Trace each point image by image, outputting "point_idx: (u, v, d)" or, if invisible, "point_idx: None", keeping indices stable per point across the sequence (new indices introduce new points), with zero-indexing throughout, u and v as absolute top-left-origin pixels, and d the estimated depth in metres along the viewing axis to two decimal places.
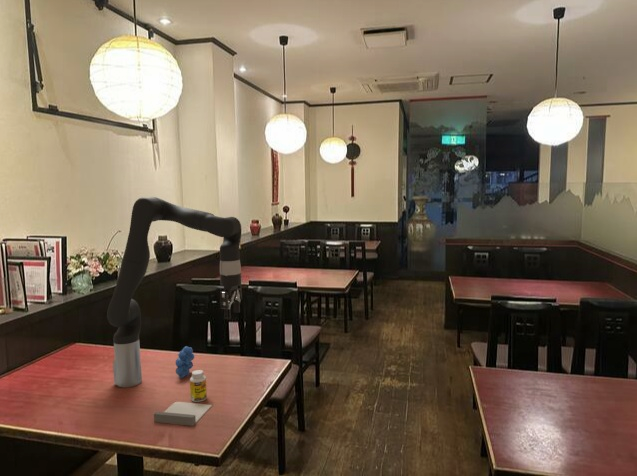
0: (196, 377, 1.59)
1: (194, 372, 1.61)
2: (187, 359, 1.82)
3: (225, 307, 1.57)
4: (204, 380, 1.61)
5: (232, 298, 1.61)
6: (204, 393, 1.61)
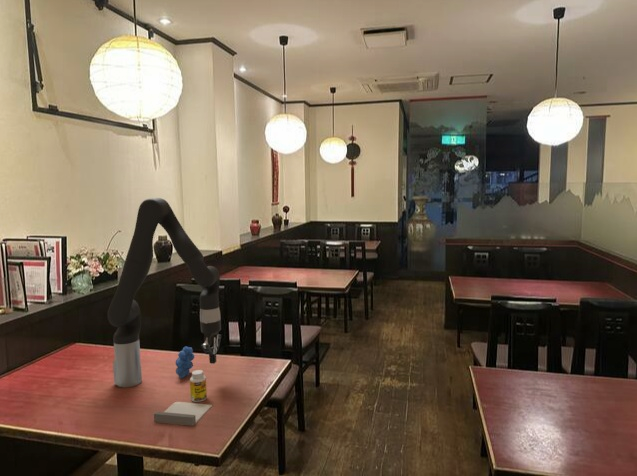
0: (196, 377, 1.59)
1: (194, 372, 1.61)
2: (187, 359, 1.82)
3: (210, 353, 1.69)
4: (204, 380, 1.61)
5: (214, 345, 1.70)
6: (204, 393, 1.61)
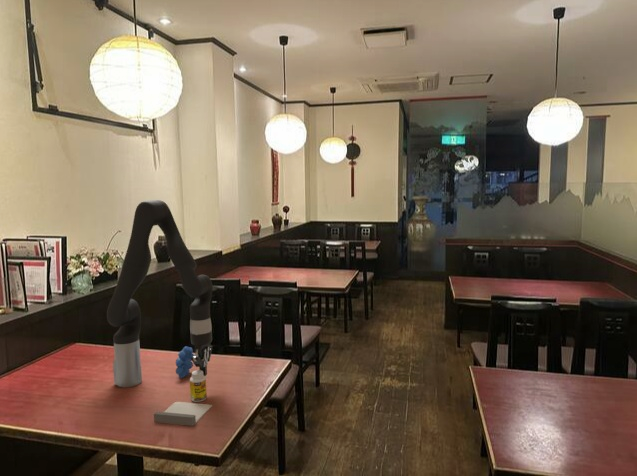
0: (196, 377, 1.59)
1: (194, 372, 1.61)
2: (187, 359, 1.82)
3: (200, 366, 1.62)
4: (204, 380, 1.61)
5: (204, 357, 1.63)
6: (204, 393, 1.61)
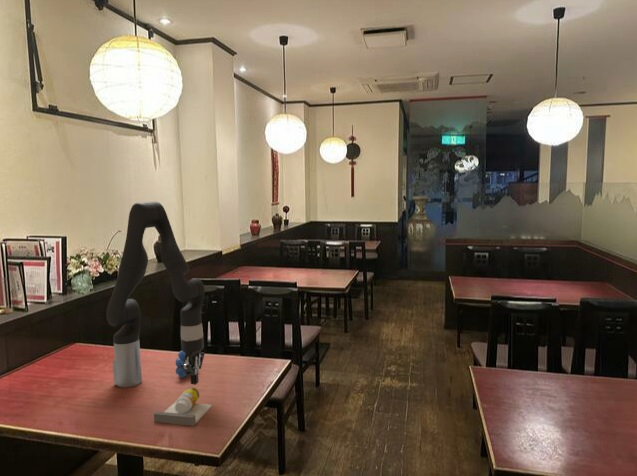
0: None
1: (178, 410, 1.50)
2: None
3: (191, 373, 1.55)
4: (191, 403, 1.52)
5: (196, 364, 1.56)
6: (197, 397, 1.56)
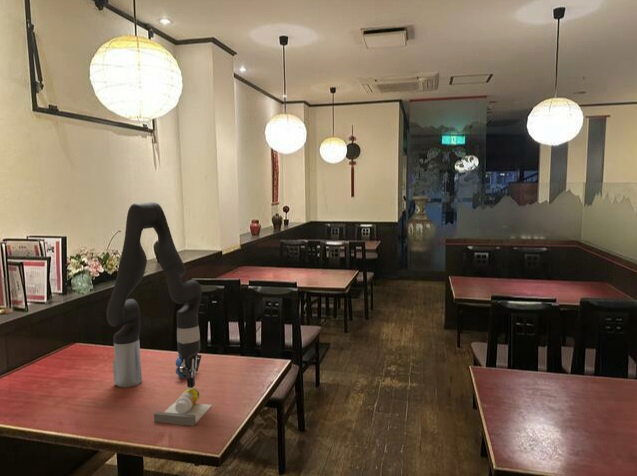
0: None
1: (178, 410, 1.50)
2: None
3: (187, 376, 1.53)
4: (191, 403, 1.52)
5: (192, 367, 1.54)
6: (197, 397, 1.56)
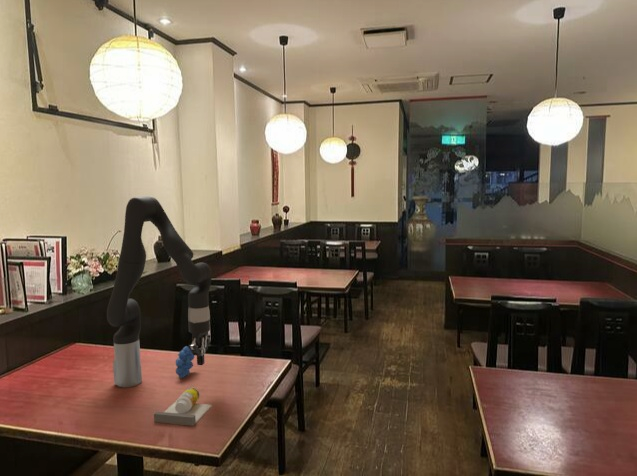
0: None
1: (178, 410, 1.50)
2: (187, 359, 1.82)
3: (198, 354, 1.60)
4: (191, 403, 1.52)
5: (202, 345, 1.61)
6: (197, 397, 1.56)
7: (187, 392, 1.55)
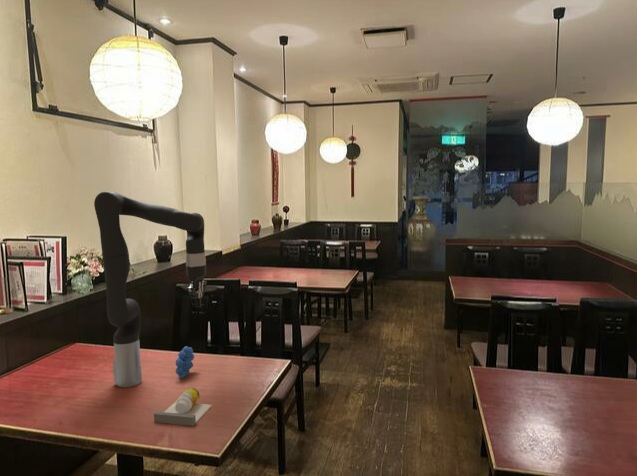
0: None
1: (178, 410, 1.50)
2: (187, 359, 1.82)
3: (195, 296, 1.74)
4: (191, 403, 1.52)
5: (199, 289, 1.76)
6: (197, 397, 1.56)
7: (187, 392, 1.55)
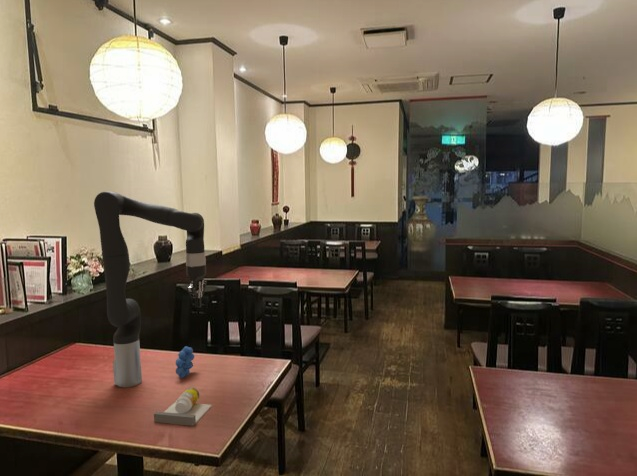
0: None
1: (178, 410, 1.50)
2: (187, 359, 1.82)
3: (195, 296, 1.75)
4: (191, 403, 1.52)
5: (199, 288, 1.76)
6: (197, 397, 1.56)
7: (187, 392, 1.55)
